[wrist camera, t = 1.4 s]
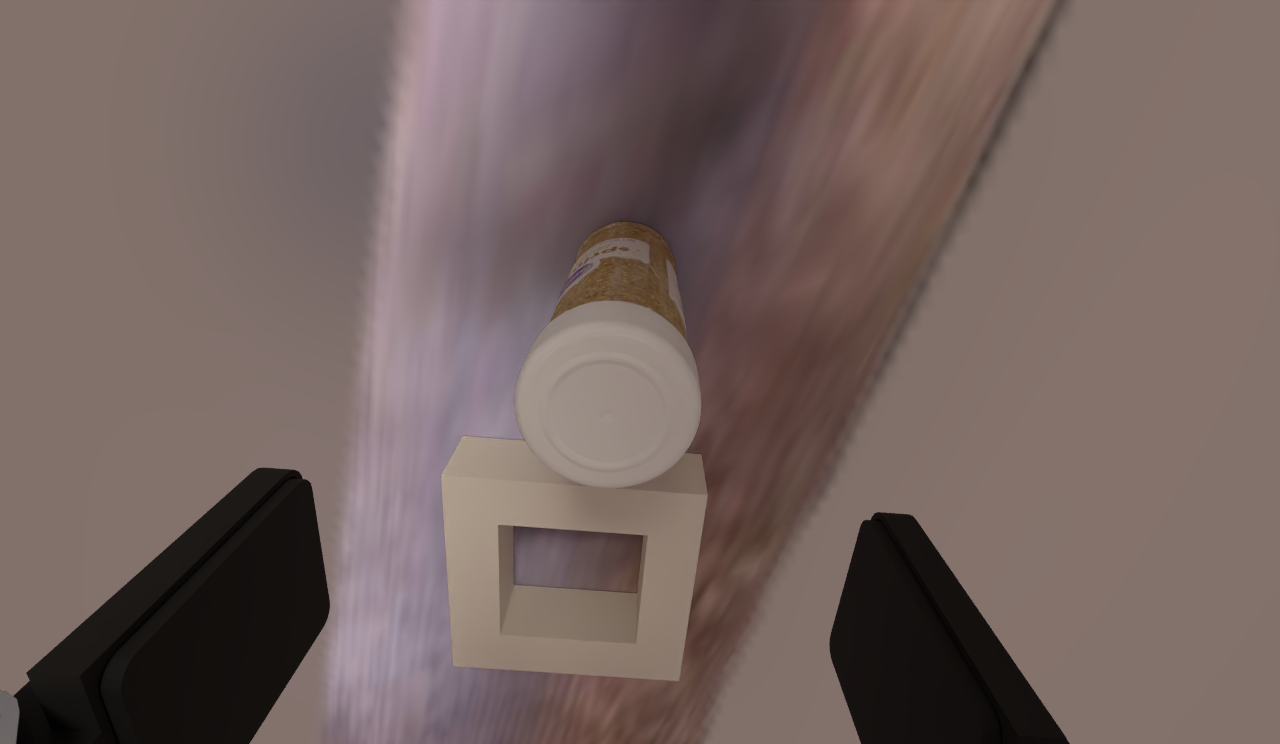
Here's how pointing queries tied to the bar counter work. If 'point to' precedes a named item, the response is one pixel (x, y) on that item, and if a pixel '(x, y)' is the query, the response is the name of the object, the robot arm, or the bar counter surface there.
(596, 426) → the sprinkles bottle
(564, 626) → the collar
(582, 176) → the bar counter surface
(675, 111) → the bar counter surface
